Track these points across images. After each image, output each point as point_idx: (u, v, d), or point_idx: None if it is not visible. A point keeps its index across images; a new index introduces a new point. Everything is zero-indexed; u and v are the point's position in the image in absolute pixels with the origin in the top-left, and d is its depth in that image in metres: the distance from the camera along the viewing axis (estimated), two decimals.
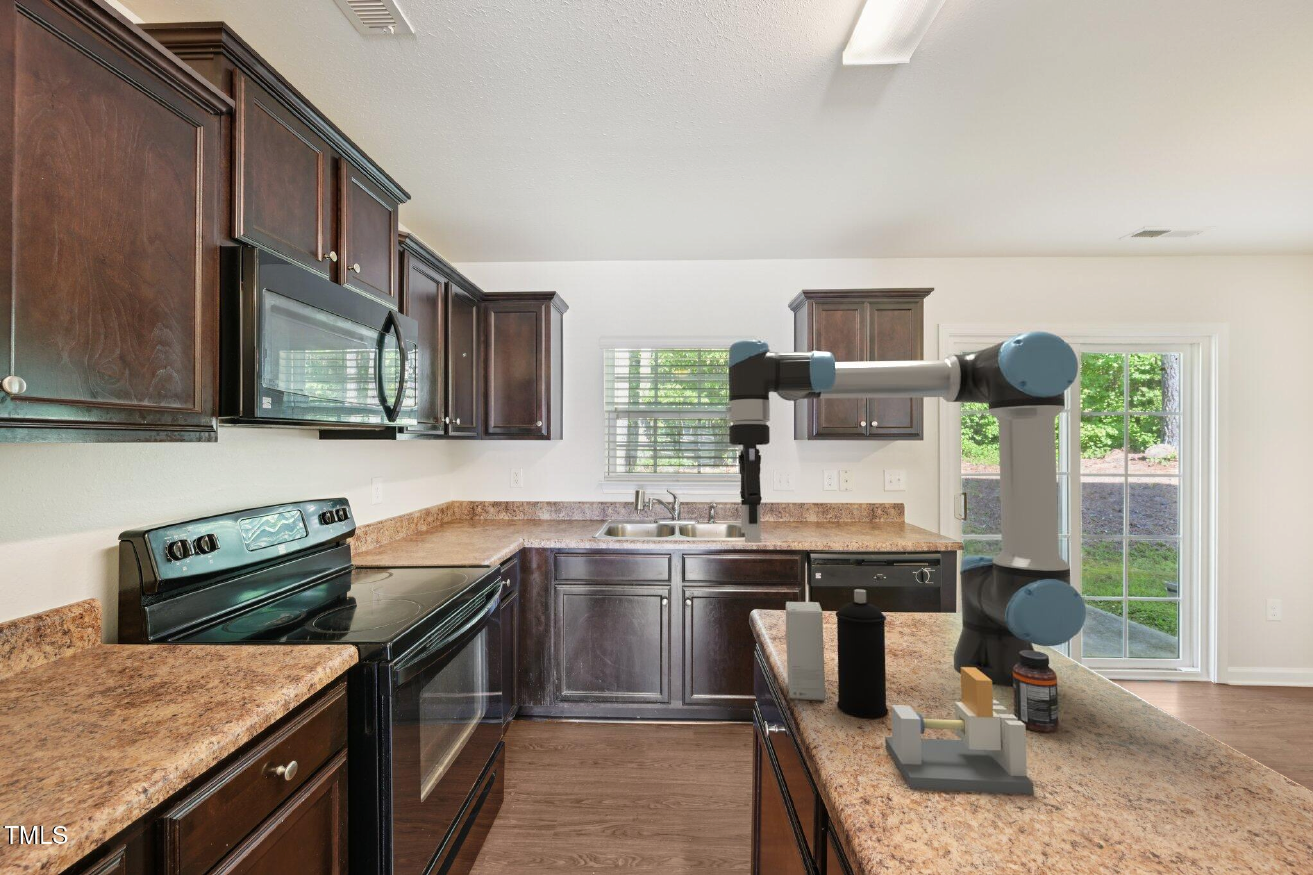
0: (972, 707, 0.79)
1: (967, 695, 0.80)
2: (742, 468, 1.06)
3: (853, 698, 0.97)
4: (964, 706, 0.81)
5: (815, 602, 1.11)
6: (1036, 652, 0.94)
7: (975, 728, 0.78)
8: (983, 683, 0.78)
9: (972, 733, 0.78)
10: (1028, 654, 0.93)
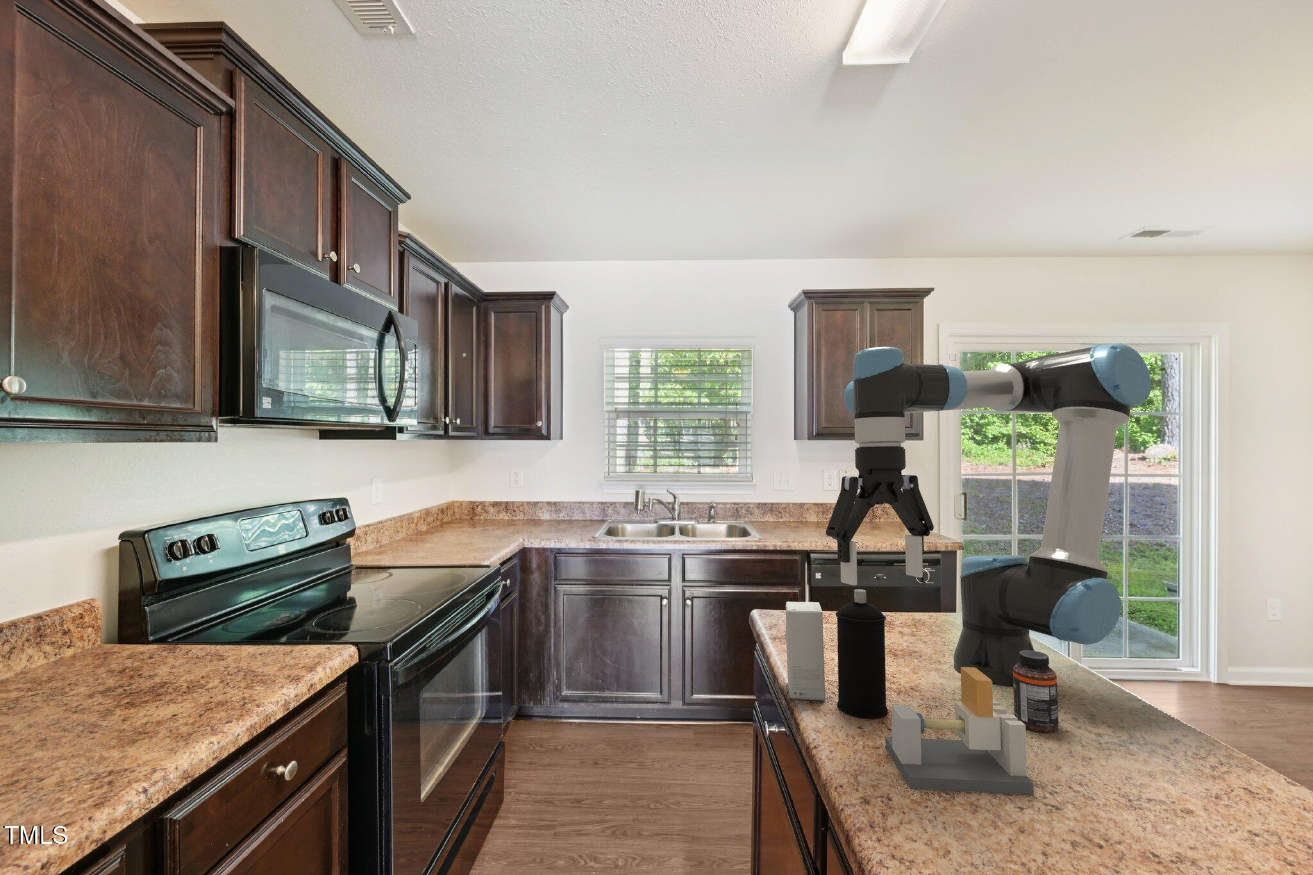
0: (972, 707, 0.79)
1: (967, 695, 0.80)
2: (856, 498, 0.93)
3: (853, 698, 0.97)
4: (964, 706, 0.81)
5: (815, 602, 1.11)
6: (1036, 652, 0.94)
7: (975, 728, 0.78)
8: (983, 683, 0.78)
9: (972, 733, 0.78)
10: (1028, 654, 0.93)
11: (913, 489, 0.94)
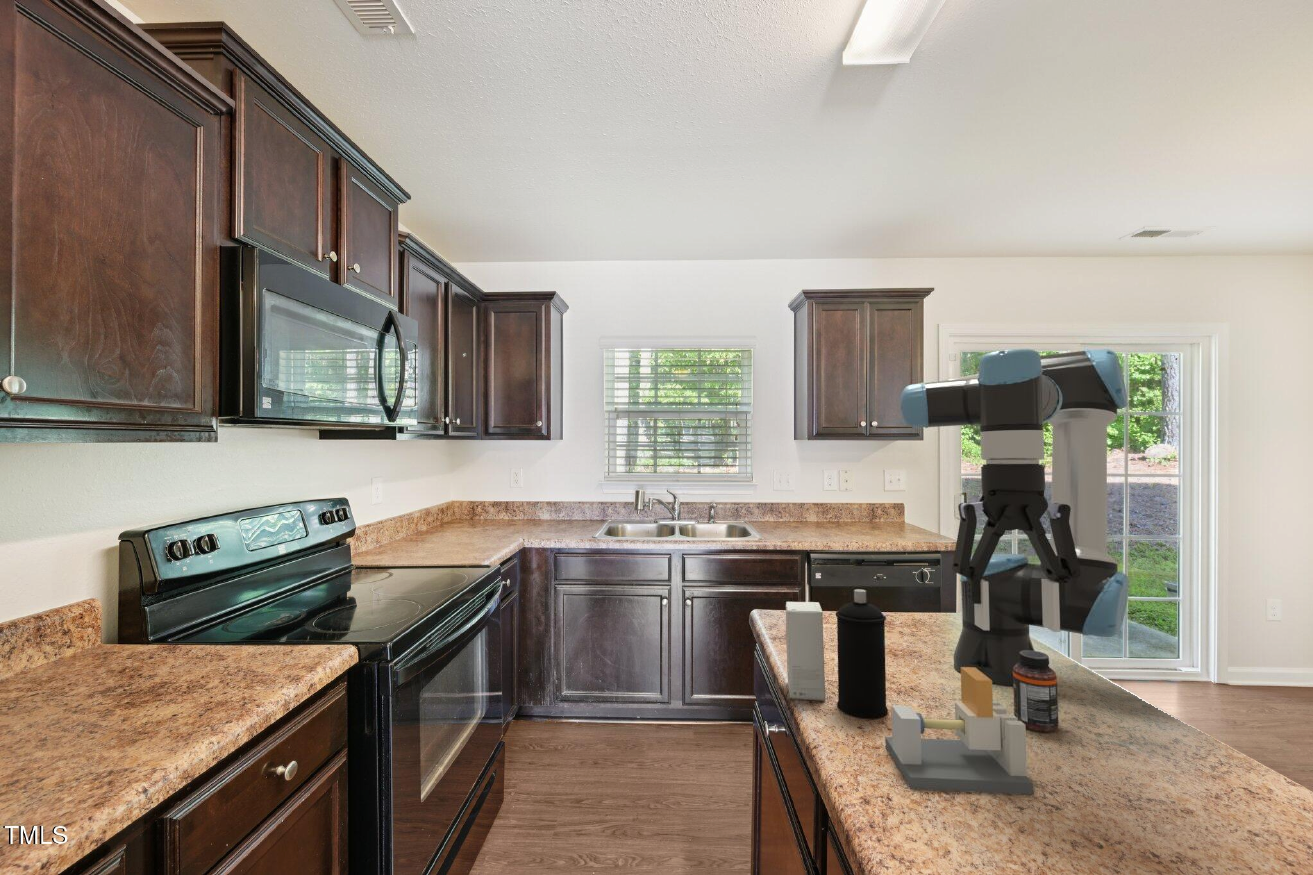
0: (972, 707, 0.79)
1: (967, 695, 0.80)
2: (985, 525, 0.82)
3: (853, 698, 0.97)
4: (964, 706, 0.81)
5: (815, 602, 1.11)
6: (1036, 652, 0.94)
7: (975, 728, 0.78)
8: (983, 683, 0.78)
9: (972, 733, 0.78)
10: (1028, 654, 0.93)
11: (1059, 520, 0.79)
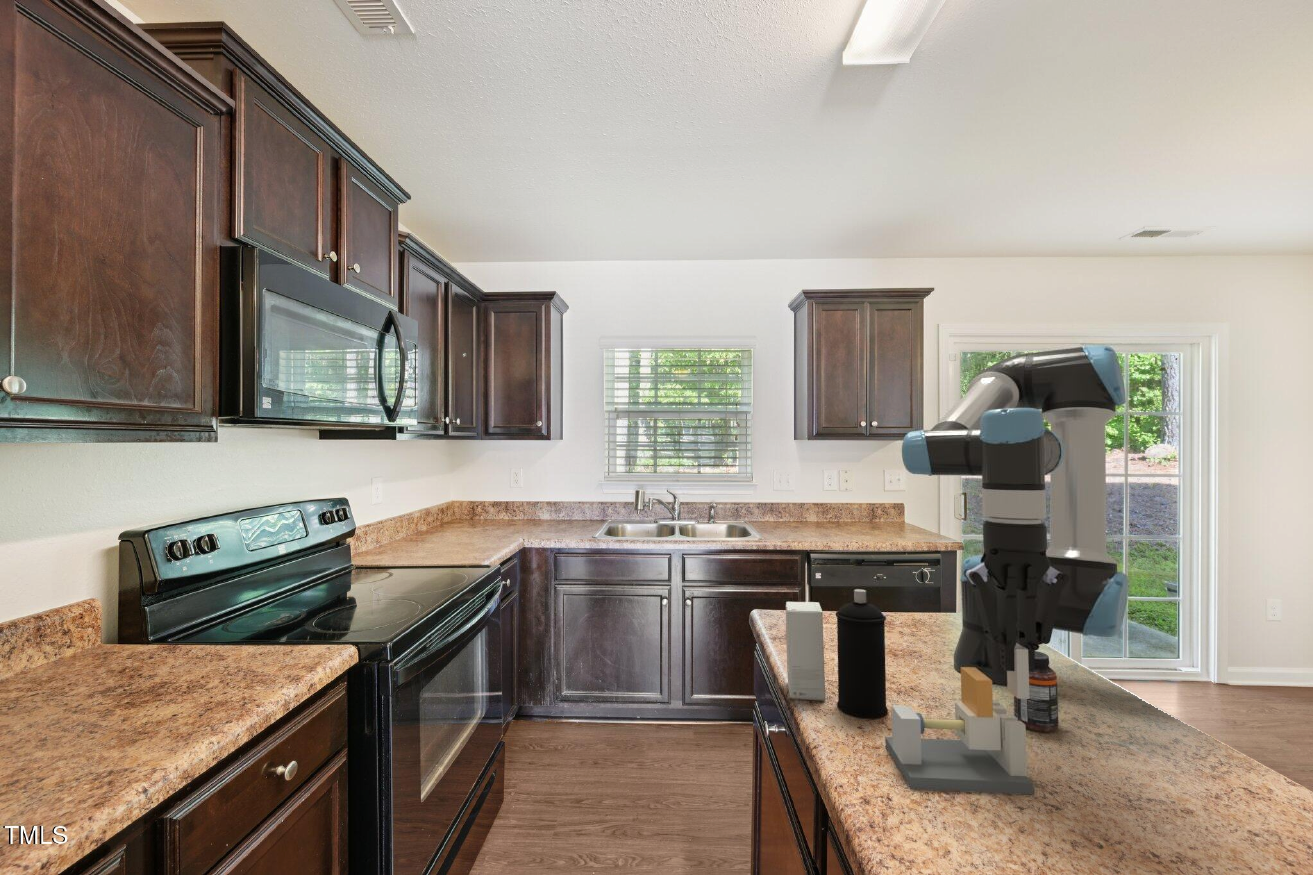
0: (972, 707, 0.79)
1: (967, 695, 0.80)
2: (995, 586, 0.82)
3: (853, 698, 0.97)
4: (964, 706, 0.81)
5: (815, 602, 1.11)
6: (1036, 652, 0.94)
7: (975, 728, 0.78)
8: (983, 683, 0.78)
9: (972, 733, 0.78)
10: None
11: (1053, 585, 0.79)
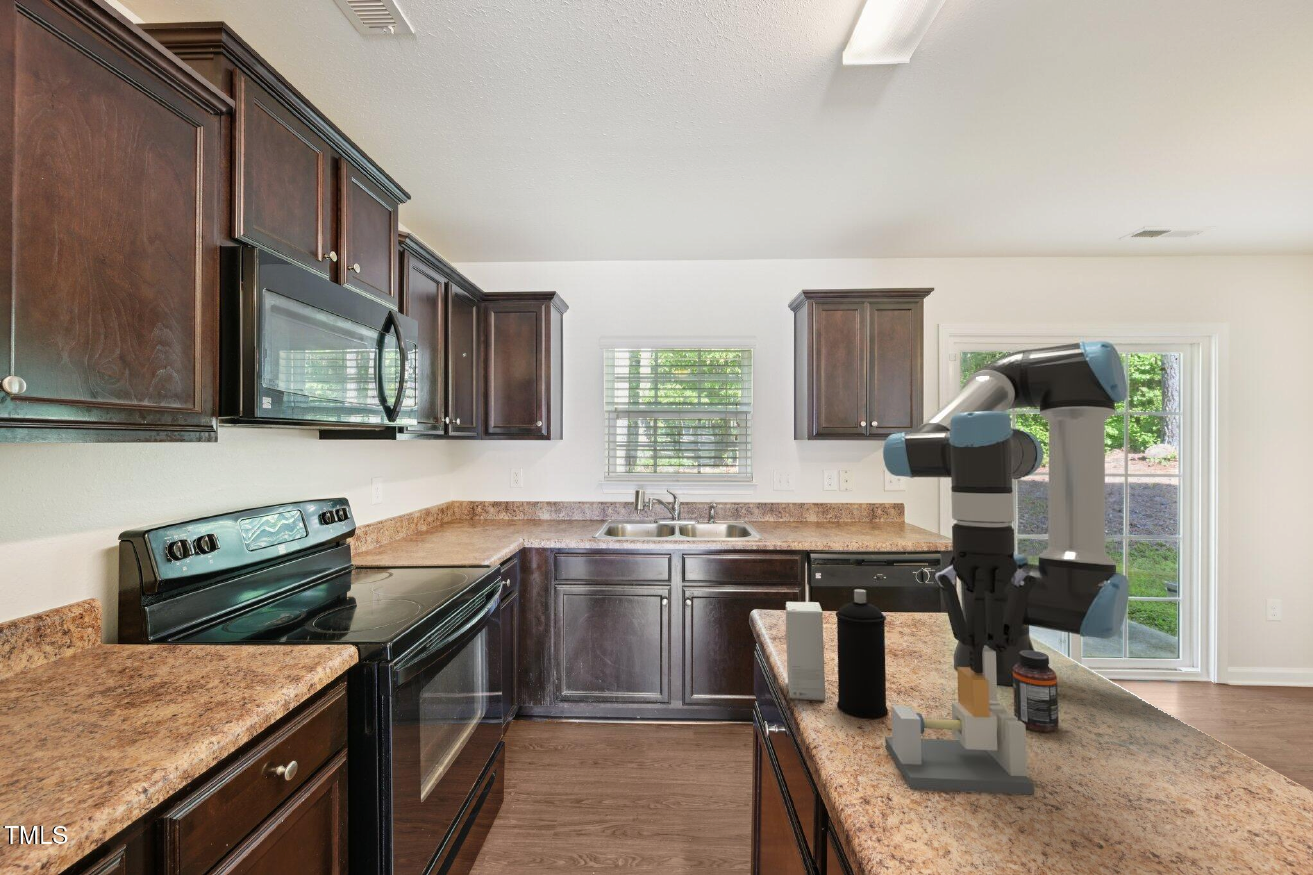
0: (969, 707, 0.79)
1: (964, 695, 0.81)
2: (965, 589, 0.82)
3: (853, 698, 0.97)
4: (961, 706, 0.81)
5: (815, 602, 1.11)
6: (1036, 652, 0.94)
7: (972, 728, 0.78)
8: (979, 682, 0.78)
9: (969, 733, 0.78)
10: (1028, 654, 0.93)
11: (1021, 588, 0.79)
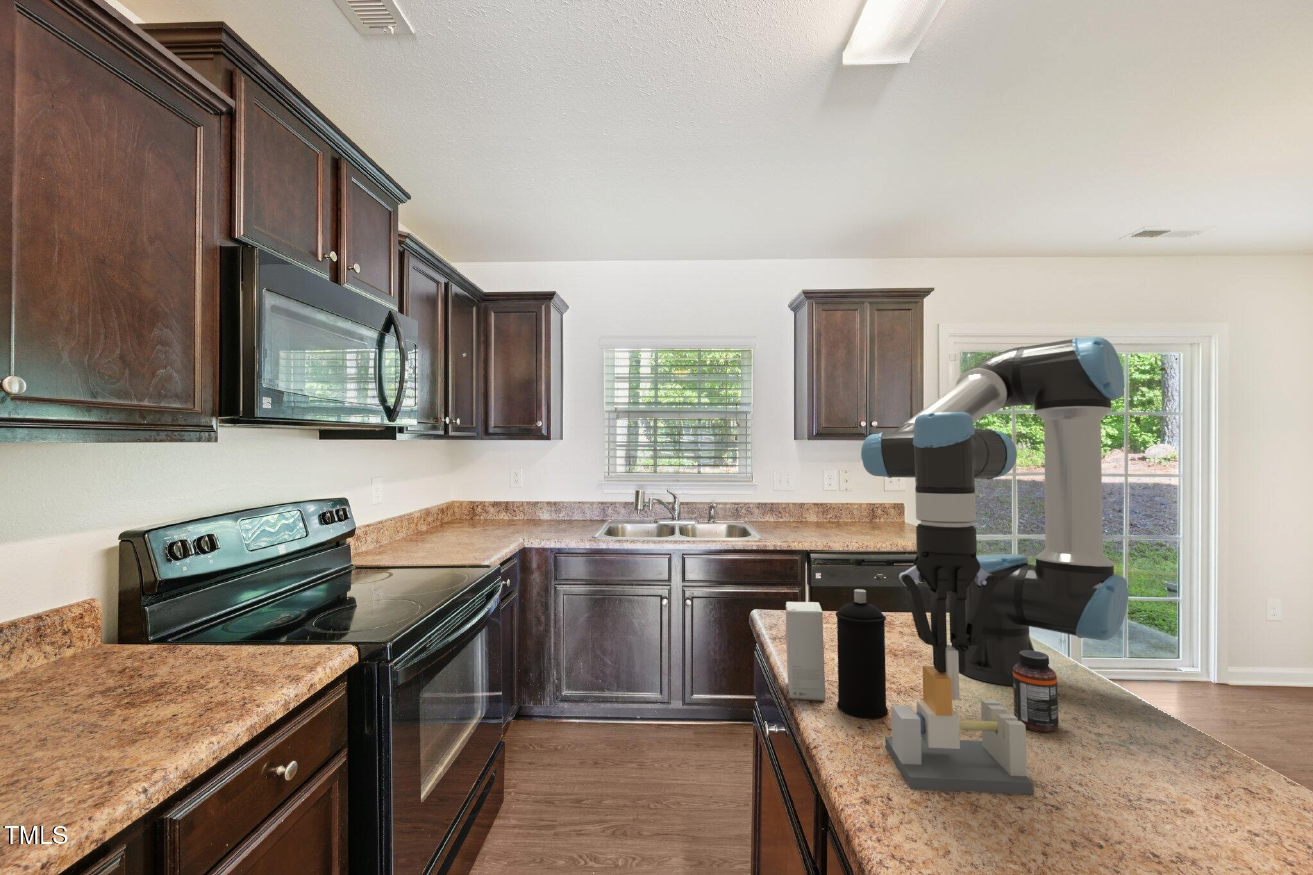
0: (932, 706, 0.79)
1: (928, 694, 0.81)
2: (929, 589, 0.83)
3: (853, 698, 0.97)
4: (925, 705, 0.81)
5: (815, 602, 1.11)
6: (1036, 652, 0.94)
7: (934, 726, 0.78)
8: (942, 681, 0.78)
9: (932, 731, 0.78)
10: (1028, 654, 0.93)
11: (983, 587, 0.79)
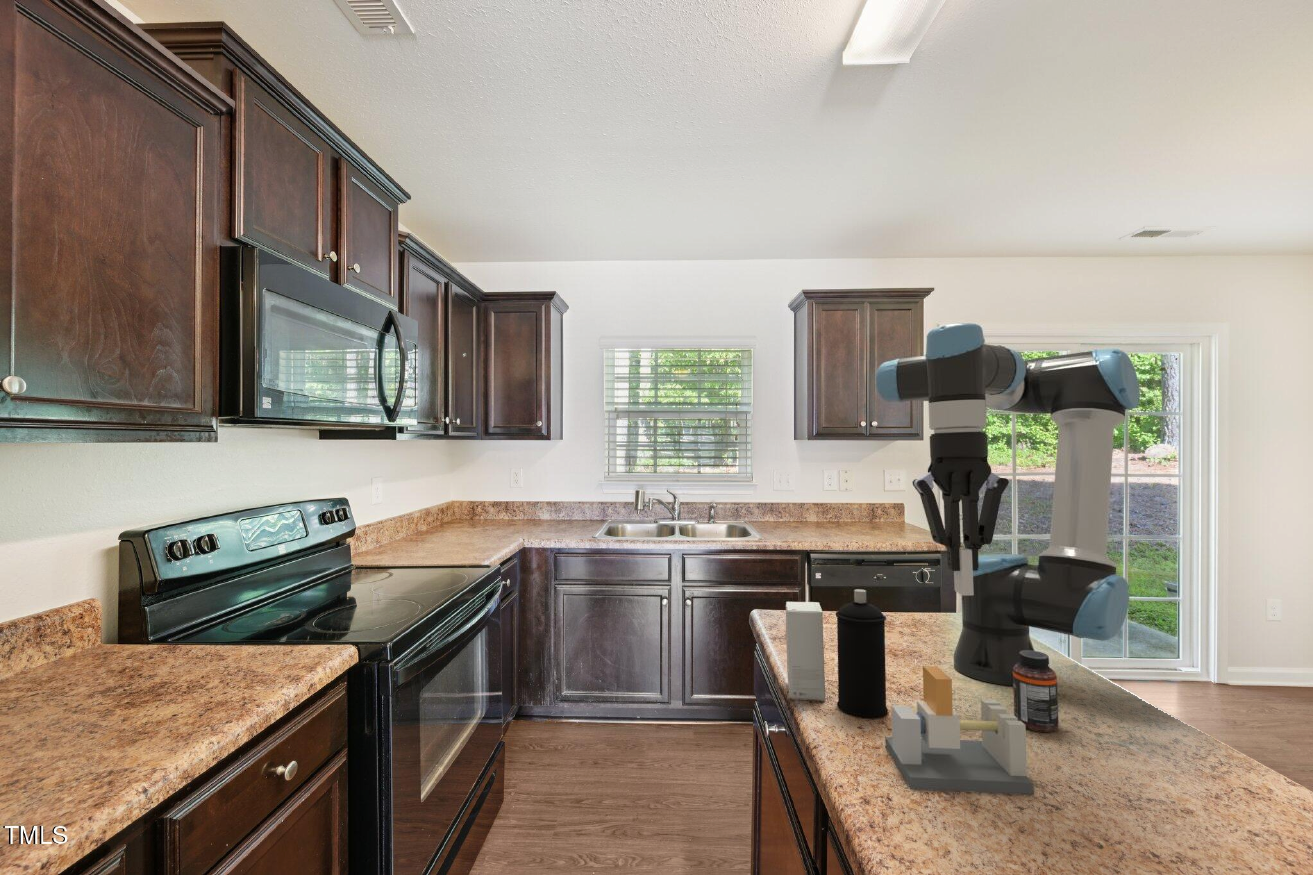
0: (932, 706, 0.79)
1: (928, 694, 0.81)
2: (942, 495, 0.87)
3: (853, 698, 0.97)
4: (925, 705, 0.81)
5: (815, 602, 1.11)
6: (1036, 652, 0.94)
7: (935, 726, 0.78)
8: (943, 681, 0.78)
9: (932, 731, 0.78)
10: (1028, 654, 0.93)
11: (994, 490, 0.84)
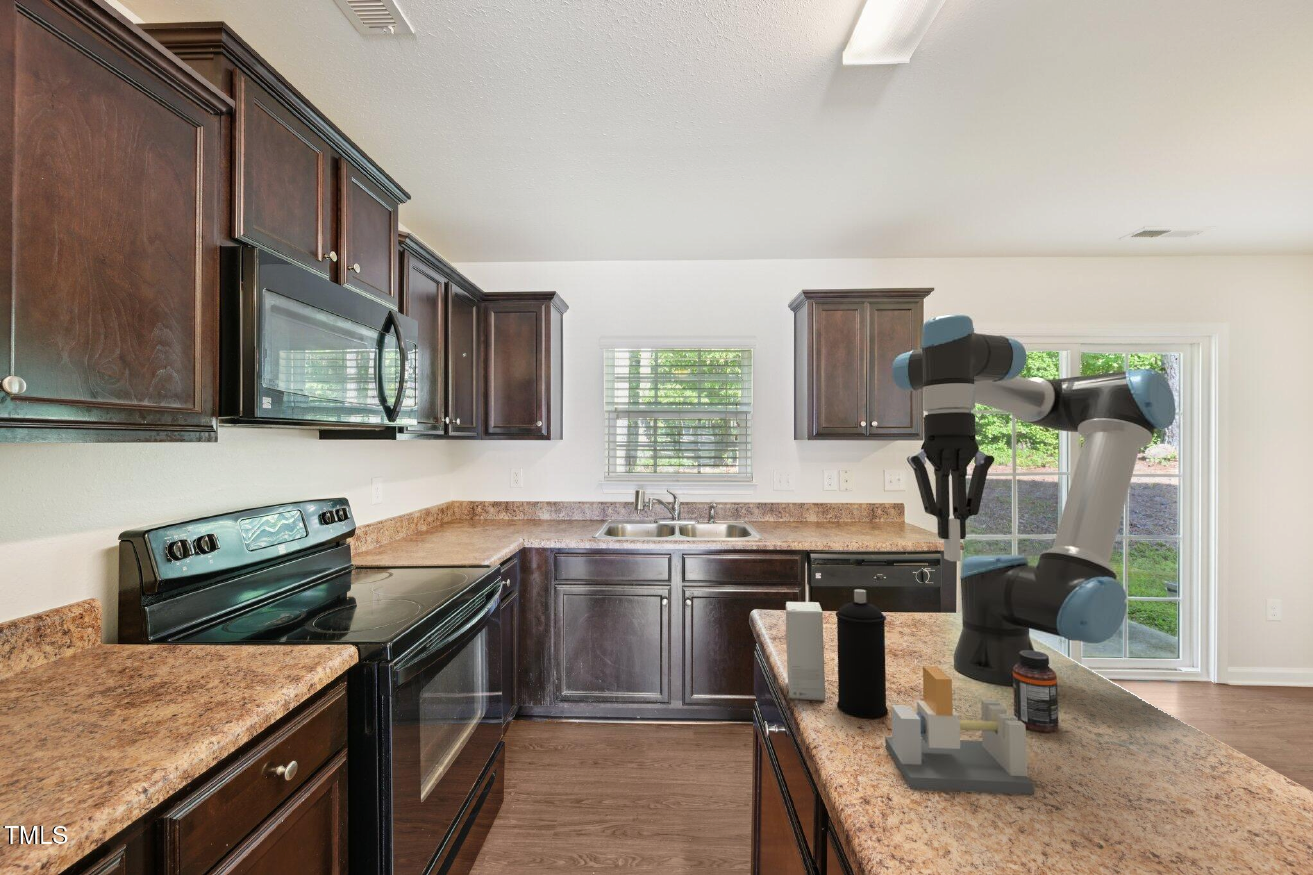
0: (932, 706, 0.79)
1: (928, 694, 0.81)
2: (934, 471, 0.96)
3: (853, 698, 0.97)
4: (925, 705, 0.81)
5: (815, 602, 1.11)
6: (1036, 652, 0.94)
7: (935, 726, 0.78)
8: (943, 681, 0.78)
9: (932, 731, 0.78)
10: (1028, 654, 0.93)
11: (981, 466, 0.93)
